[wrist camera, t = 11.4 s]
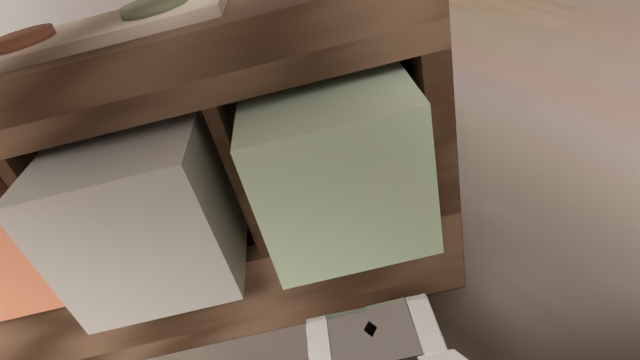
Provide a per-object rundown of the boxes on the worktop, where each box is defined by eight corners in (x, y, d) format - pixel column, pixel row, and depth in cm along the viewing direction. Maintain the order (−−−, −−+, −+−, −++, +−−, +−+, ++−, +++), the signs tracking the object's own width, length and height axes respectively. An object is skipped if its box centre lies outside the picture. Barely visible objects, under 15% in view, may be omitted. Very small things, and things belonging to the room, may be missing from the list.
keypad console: (-20, 396, 22) (-318, 137, 14) (33, 302, 27) (-165, 71, 19) (465, 286, 21) (445, -60, 13) (427, 209, 26) (396, -76, 18)
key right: (283, 289, 17) (230, 152, 13) (280, 215, 20) (238, 93, 17) (443, 252, 16) (430, 103, 13) (411, 184, 20) (394, 54, 17)
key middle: (88, 334, 17) (-11, 211, 14) (120, 253, 21) (49, 140, 17) (243, 299, 17) (181, 164, 13) (248, 222, 20) (199, 103, 17)
